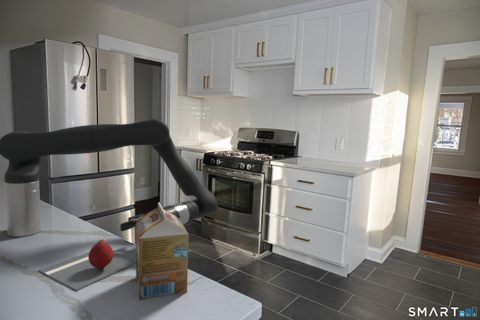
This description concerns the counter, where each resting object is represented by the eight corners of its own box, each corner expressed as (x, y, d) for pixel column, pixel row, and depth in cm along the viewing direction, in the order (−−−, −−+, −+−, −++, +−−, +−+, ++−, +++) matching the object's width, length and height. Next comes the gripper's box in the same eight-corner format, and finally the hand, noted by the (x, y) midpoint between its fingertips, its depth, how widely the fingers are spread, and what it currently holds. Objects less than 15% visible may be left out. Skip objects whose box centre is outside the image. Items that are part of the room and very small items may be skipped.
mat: (38, 271, 79) (38, 269, 79) (102, 248, 94) (102, 246, 94) (76, 291, 71) (76, 289, 71) (139, 262, 86) (139, 260, 86)
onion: (104, 276, 77) (104, 245, 76) (83, 272, 78) (83, 242, 77) (117, 265, 83) (117, 236, 82) (98, 262, 84) (98, 234, 83)
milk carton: (136, 277, 78) (136, 203, 76) (178, 271, 82) (179, 200, 80) (139, 300, 69) (139, 216, 66) (187, 292, 72) (189, 212, 70)
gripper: (156, 201, 104) (114, 213, 91) (189, 209, 97) (149, 223, 83) (156, 223, 105) (114, 238, 92) (188, 232, 98) (149, 250, 84)
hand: (131, 230), depth 87 cm, fingers open, 8 cm apart
